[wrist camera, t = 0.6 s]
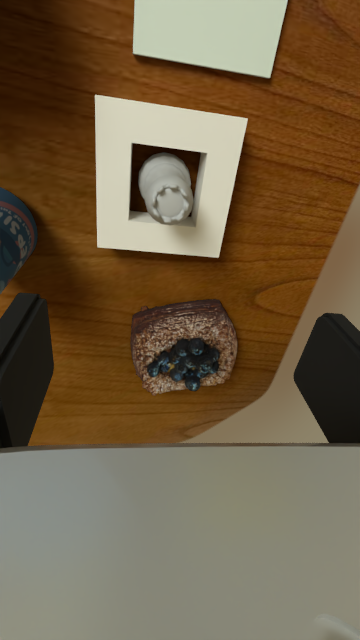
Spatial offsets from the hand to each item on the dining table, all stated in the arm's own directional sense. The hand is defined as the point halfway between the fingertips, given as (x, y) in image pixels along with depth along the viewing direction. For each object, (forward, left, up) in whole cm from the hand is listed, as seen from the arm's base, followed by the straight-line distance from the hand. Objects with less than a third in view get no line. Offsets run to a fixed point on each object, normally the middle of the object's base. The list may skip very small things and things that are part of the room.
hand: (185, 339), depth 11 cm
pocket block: (-1, 0, -20) cm, 20 cm away
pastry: (+16, +4, -21) cm, 26 cm away
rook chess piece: (-1, 0, -21) cm, 21 cm away
